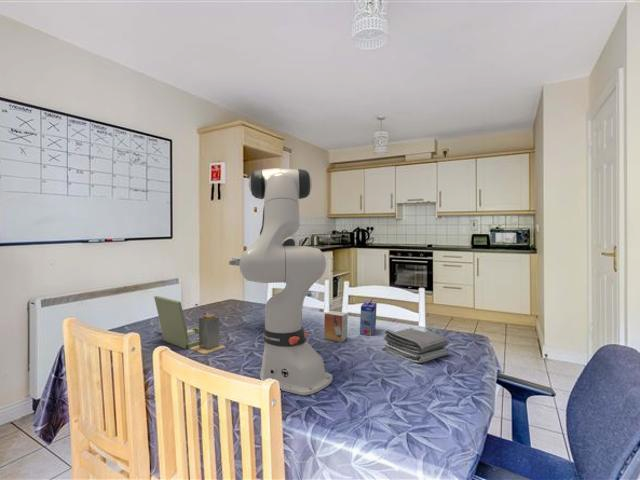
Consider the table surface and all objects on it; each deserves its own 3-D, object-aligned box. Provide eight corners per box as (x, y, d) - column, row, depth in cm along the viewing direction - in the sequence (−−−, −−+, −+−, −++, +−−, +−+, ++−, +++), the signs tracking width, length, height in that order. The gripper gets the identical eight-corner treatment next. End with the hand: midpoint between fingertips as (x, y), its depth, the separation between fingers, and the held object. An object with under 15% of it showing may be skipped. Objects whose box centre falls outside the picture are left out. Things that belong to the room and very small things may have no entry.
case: (220, 338, 135) (220, 294, 134) (178, 351, 121) (178, 302, 120) (195, 330, 145) (195, 289, 145) (154, 341, 131) (154, 296, 130)
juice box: (372, 336, 139) (373, 301, 139) (359, 334, 141) (359, 300, 141) (376, 329, 149) (377, 296, 148) (364, 328, 150) (364, 295, 150)
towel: (421, 367, 109) (422, 343, 109) (379, 350, 124) (380, 329, 124) (448, 356, 118) (449, 334, 118) (406, 342, 133) (406, 322, 133)
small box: (323, 339, 135) (323, 313, 135) (329, 335, 140) (330, 310, 140) (342, 342, 131) (342, 315, 131) (347, 338, 136) (347, 312, 136)
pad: (225, 347, 125) (225, 346, 125) (204, 354, 118) (204, 353, 118) (211, 342, 130) (211, 341, 130) (189, 349, 123) (190, 347, 123)
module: (219, 346, 125) (218, 315, 125) (207, 350, 121) (207, 318, 121) (210, 343, 128) (210, 313, 128) (199, 347, 124) (199, 316, 124)
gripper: (246, 252, 155) (221, 254, 144) (278, 255, 143) (254, 257, 132) (246, 266, 155) (221, 269, 144) (278, 270, 143) (254, 273, 132)
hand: (237, 263), depth 138 cm, fingers open, 8 cm apart
